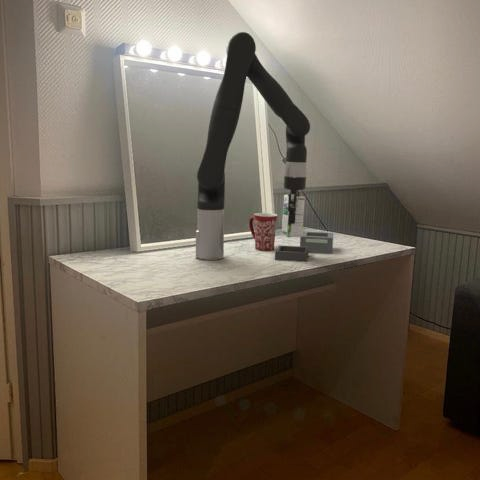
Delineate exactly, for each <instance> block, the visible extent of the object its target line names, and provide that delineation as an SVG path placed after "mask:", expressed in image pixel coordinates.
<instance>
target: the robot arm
mask: <svg viewBox="0 0 480 480" xmlns="http://www.w3.org/2000/svg"><path fill="white" fill-rule="evenodd" d="M256 46H257V45H256V42H255V39H254V38H253V36H252V35H251V34H250V33H248V32H246V31H238V32H237V33H234V34H233V35H231V37H230V38H229V40H228V42H227V45H226V49H225V50H226V59H225V66H224V72H223V75H222V79H221V81H220V84H219V87H218V89H217V92H216V95H215V99H214V102H213V105H212V108H211V109H212V110H211V113H210V117H209V118H210V119H209V124H208V129H207V130H208V131H207V138H206V144H205V145H206V146H205V149H204V152H203V156H202V159H201V162H200V164H199V167H198V169H197V172H196V179H197V182H198V185H197V190H198V193H197V230H195V258H196V259H200V260H205V261H206V260H207V261H209V260H210V261H216V260H222V259H224V254H225V249H224V247H225V246H224V244H225V242H224V241H225V240H224V239H225V199H226V197H225V196H226V195H225V193H226V191H225V189H226V188H225V187H226V185H225V184H226V175H225V174H226V173H225V168H226V161H227V156H228V153H229V152H228V151H229V148H230V145H231V144H232V141H233V138H234V135H235V133H236V130H237V126H238V123H239V119H240V116H241V110H242V105H243V100H244V94H245V86H246V80H247V79H249V81H250V82H251V83H252V84H253V86H254V87H255V89H256V90H257V91H258V93H259V94H260V96H261V97H262V99H263V100H264V101H265V102H266V104H267V105H268V106H269V108H270V109H271V111H272V112H273V113H274V114H275V115H276V116H277V117H278V118H280V119H281V120H282V121H283V123H284V124H285V125H286V127H285V141H286V142H285V143H286V153H285V154H286V155H285V166H284V177H283V179H284V180H283V189H285V190H289V191H290V193H288V194H287V195H288V196H289V197H288V211H289V221H288V222H289V224H294V223H295V214H296V208H297V207H298V199H299V198H298V199H297V196H301V194H300V191H303V190H306V187H307V185H306V184H307V183H306V182H307V169H308V168H307V156H308V155H307V154H308V151H307V150H308V149H307V146H306V136H307V135H308V134H309V133H310V130H311V123H310V120H309V119H308V117H307V115H306V114H304V112H302V110H301V109H300V108H299V107H298V106H297V105H296V104H295V103H294V102H293V100H292V99H291V98H290V96H289V95H288V93H287V92H286V90H285V89H284V88H283V86H281V84H280V83H279V82H278V81H277V79H275V78H274V77H273V76H272V75H271V74H270V73H269V71H267V70H266V68H265V66H263V64H262V62H261V61H260V59H259V58H258V56H257V54H256V50H257V47H256ZM291 200H294V201H291ZM296 200H297V203H296ZM291 206H292V207H294V208H290V207H291Z"/></svg>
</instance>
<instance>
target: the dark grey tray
mask: <svg viewBox="0 0 480 480" xmlns="http://www.w3.org/2000/svg"><path fill="white" fill-rule="evenodd" d="M308 257H309V247H300V245H299V246H296V245H278V246H277V248H276V249H275V250H274V260H276V261H287V260H288V262H289V261H291V262H304V263H305V262H308Z"/></svg>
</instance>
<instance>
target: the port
mask: <svg viewBox="0 0 480 480" xmlns="http://www.w3.org/2000/svg"><path fill="white" fill-rule="evenodd" d="M299 238H300V241H299V247H309V253H311V254H329V255H333V246H334V232H323V231H307V230H305V231H303V232H302V237H299Z"/></svg>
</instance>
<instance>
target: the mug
mask: <svg viewBox="0 0 480 480" xmlns="http://www.w3.org/2000/svg"><path fill="white" fill-rule="evenodd" d="M278 217H279V216H278V214H276V213H271V212H257V213H253V216H252V217H250V218H249V222H248V225H249V226H248V227H249V231H250V233H251V236H252V238H253V240H254V249H255V250H257V251H260V252H261V251H262V252H264V251H265V252H270V251H275V240H276V231H277V221H278ZM253 222H254V225H253Z"/></svg>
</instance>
